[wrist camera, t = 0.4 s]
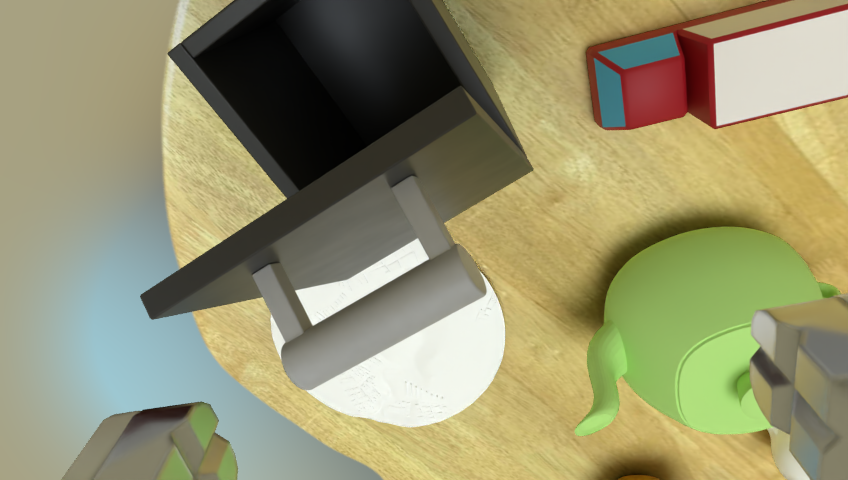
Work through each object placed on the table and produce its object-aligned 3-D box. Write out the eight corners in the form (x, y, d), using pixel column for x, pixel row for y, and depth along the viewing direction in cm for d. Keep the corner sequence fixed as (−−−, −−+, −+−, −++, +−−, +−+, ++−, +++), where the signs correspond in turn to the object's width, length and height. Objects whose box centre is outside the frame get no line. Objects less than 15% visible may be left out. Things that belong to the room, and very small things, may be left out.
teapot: (553, 387, 53) (589, 511, 41) (527, 245, 47) (560, 346, 35) (805, 341, 51) (918, 459, 39) (814, 185, 44) (954, 271, 32)
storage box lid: (138, 295, 16) (209, 446, 16) (460, 84, 14) (559, 256, 13) (339, 266, 29) (382, 348, 29) (525, 154, 26) (576, 243, 26)
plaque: (530, 390, 53) (532, 401, 51) (329, 440, 56) (326, 451, 55) (463, 192, 45) (463, 199, 44) (235, 264, 49) (229, 272, 47)
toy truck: (584, 47, 40) (611, 65, 34) (814, -13, 38) (886, -6, 32) (594, 123, 42) (621, 153, 36) (811, 70, 40) (877, 91, 34)
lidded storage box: (261, 14, 39) (166, 53, 25) (391, -86, 36) (367, -106, 22) (371, 164, 44) (344, 268, 29) (493, 85, 41) (528, 159, 27)
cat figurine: (977, 484, 45) (819, 508, 46) (901, 500, 54) (770, 520, 55) (914, 375, 50) (771, 398, 50) (853, 406, 59) (733, 426, 59)
